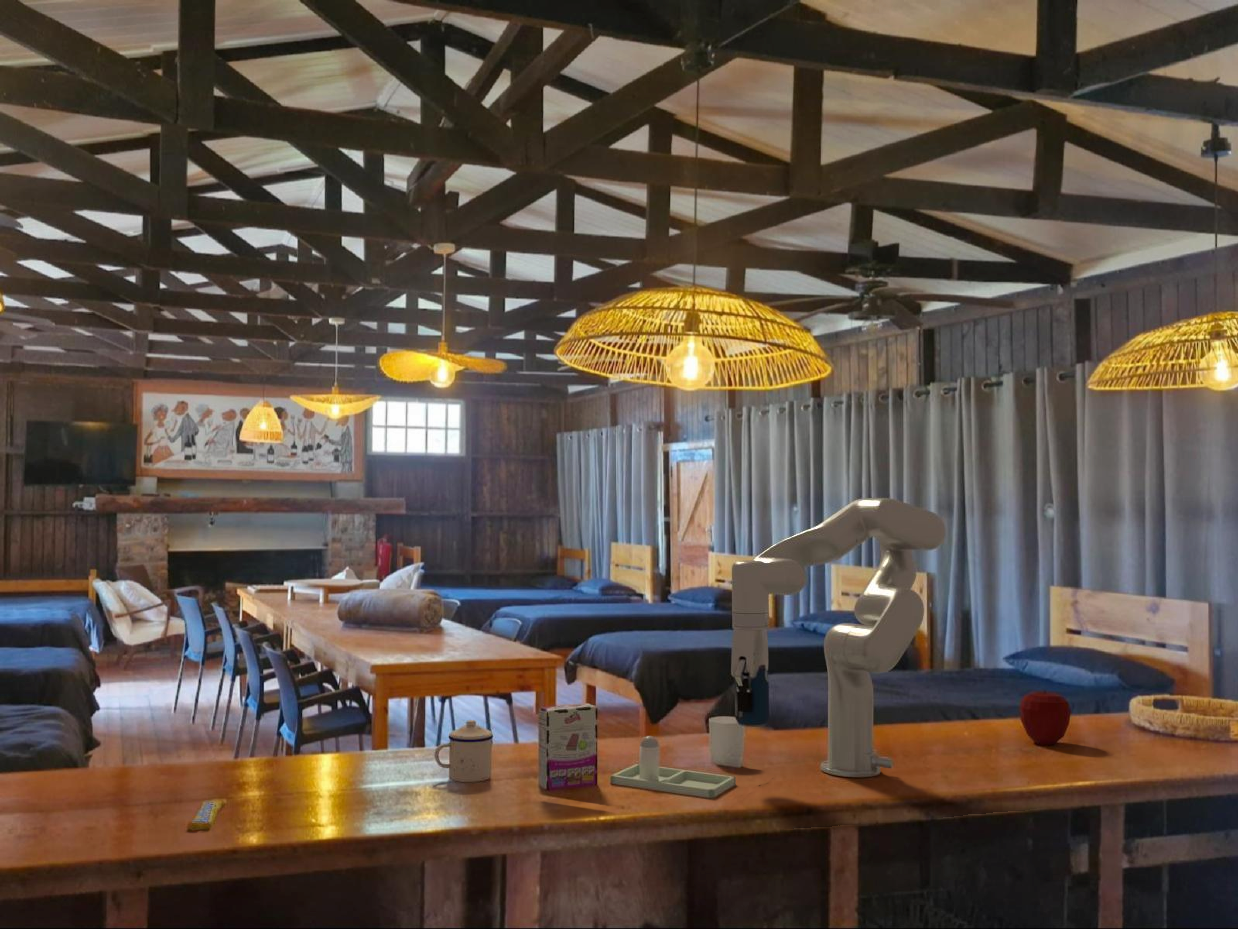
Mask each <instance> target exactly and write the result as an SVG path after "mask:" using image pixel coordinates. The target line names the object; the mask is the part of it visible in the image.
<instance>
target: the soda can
mask: <svg viewBox="0 0 1238 929" xmlns="http://www.w3.org/2000/svg"><path fill="white" fill-rule="evenodd" d="M749 675H750V673H744V674H743V676H749ZM769 679H770V678H769V672H768V670H766V668H765V665H764V666H762V667H759V670H758V673H757V675H756V677H755V678H753V680H752V689H751V692H753V712H740V711H738V707H737V685H736V679H735V678H734V717H735V718H736V720H737V722H738V724H739V725H741V726H745V727H747V728H749V727H750V728H753V727H754V728H757V727H764V726H766V725H767V723H768V722H769V720H770V685H769V682H770V680H769ZM746 683H747V685H748V680H746Z"/></svg>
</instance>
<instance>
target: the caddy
mask: <svg viewBox="0 0 1238 929" xmlns="http://www.w3.org/2000/svg"><path fill="white" fill-rule="evenodd" d="M609 781H610V782H609V783H610V784H611V785H616V786H623V787H624V786H625V787H631V788H636V789H637V788H638V789H644V790H652V791H658V792H659V791H660V792H665V793H670V794H671V793H672V794H680V795H686V796H692V797H693V796H694V797H699V798H707V799H714V798H716V797H717V796H719V795H721V794H722V793H724V792H726V791H728V790H729V789H731V788H732V787H734V786H735V785H736V776H731V775H723V774H716V773H709V772H702V771H693V770H688V769H687V770H686V769H679V768H671V767H665V766H659V781H652V780H645V779H639V763H635V764H633V765H631V766H629V767H627V768H625V769H622V770H620V771H618V772H615V773H613V774H611V775H610V778H609Z"/></svg>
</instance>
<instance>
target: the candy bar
mask: <svg viewBox="0 0 1238 929" xmlns="http://www.w3.org/2000/svg"><path fill="white" fill-rule="evenodd" d="M226 802H227V799H225V798H215V799H207V800H202V803H201V807H200V808H199V810H198V812H197V813H196V815H195V817H194V818H193V819H192V821H189V822H188V824H187V828H186V829H187V830H188V831H191V832H194V831H203V830H211V827H212V825H213V823H214V822H215V820H216V818H217V817H218V815H219V813H220V811H221V809H222V807H223V805H224V804H225V803H226Z"/></svg>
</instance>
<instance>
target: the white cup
mask: <svg viewBox="0 0 1238 929" xmlns="http://www.w3.org/2000/svg"><path fill="white" fill-rule="evenodd" d="M708 727H709V728H708V730H709V750H710V764H711V765H717V766H725V767H732V768H742V767H743V756H744V747H745V746H744V744H745V730H746V729H745V728H746V726H741V725H739V724H738V722H737V720H736V718H735V716H725V715H724V716H723V715H722V716H714V717H710V718H709V719H708Z"/></svg>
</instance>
